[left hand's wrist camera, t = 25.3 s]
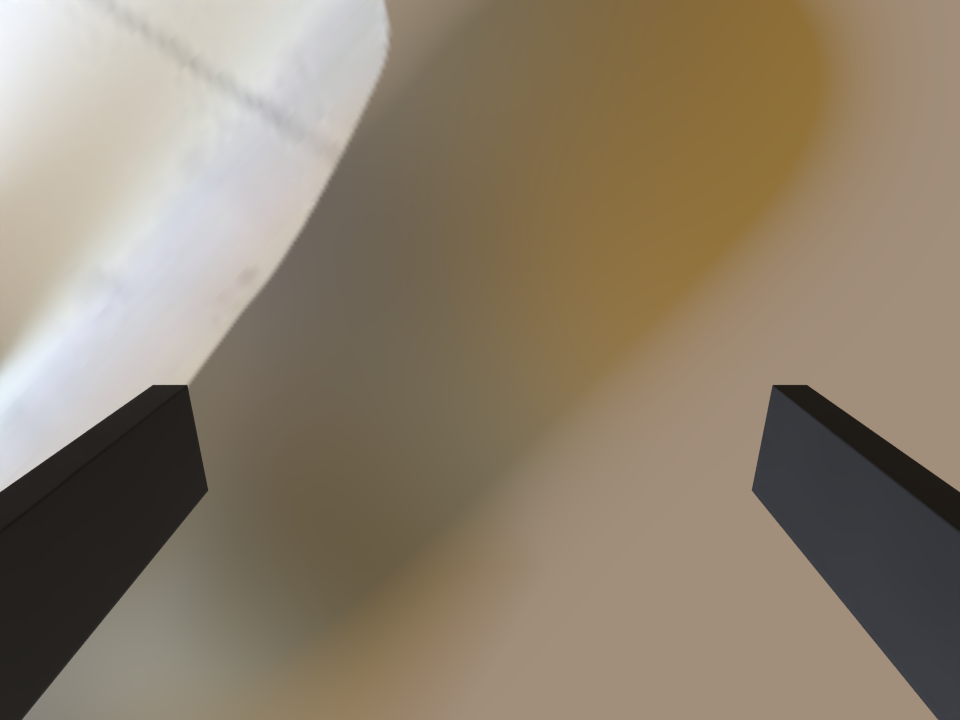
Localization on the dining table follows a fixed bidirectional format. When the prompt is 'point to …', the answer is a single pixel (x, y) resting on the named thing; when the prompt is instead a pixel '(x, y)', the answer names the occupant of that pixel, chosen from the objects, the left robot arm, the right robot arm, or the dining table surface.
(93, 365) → the dining table surface
